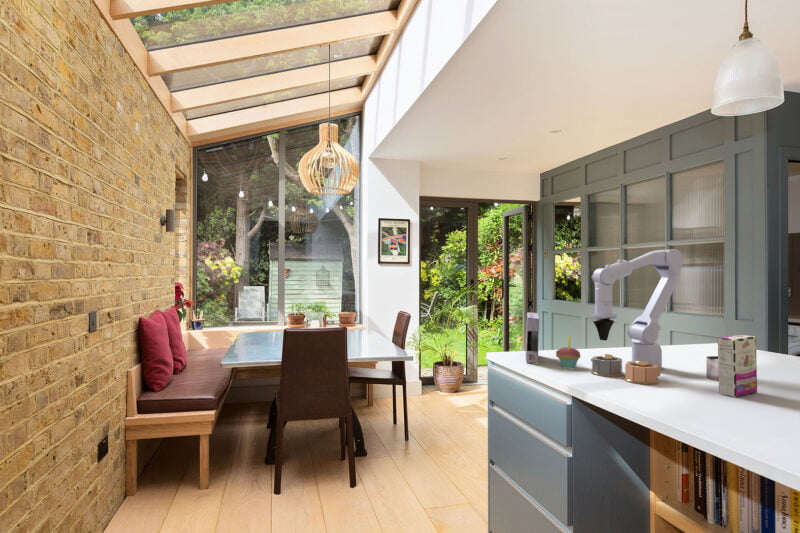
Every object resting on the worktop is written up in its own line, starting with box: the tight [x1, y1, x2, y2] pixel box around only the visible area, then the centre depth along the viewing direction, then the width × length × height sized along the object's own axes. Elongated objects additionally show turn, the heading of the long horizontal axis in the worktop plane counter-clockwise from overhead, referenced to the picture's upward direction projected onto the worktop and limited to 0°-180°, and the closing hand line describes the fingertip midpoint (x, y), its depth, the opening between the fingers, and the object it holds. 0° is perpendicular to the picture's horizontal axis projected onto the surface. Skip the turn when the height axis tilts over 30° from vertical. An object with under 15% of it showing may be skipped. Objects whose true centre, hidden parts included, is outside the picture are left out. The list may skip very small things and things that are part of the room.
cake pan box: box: [525, 312, 540, 364], centre depth 196 cm, size 19×5×18 cm, turn 166°
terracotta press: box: [623, 360, 661, 386], centre depth 160 cm, size 11×12×5 cm
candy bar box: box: [717, 334, 758, 398], centre depth 144 cm, size 11×5×16 cm, turn 117°
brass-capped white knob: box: [635, 360, 648, 367], centre depth 160 cm, size 5×5×5 cm
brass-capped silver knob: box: [600, 353, 614, 360], centre depth 171 cm, size 5×5×5 cm
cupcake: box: [555, 334, 581, 369], centre depth 182 cm, size 9×8×12 cm
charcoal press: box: [590, 355, 625, 378], centre depth 171 cm, size 11×12×5 cm
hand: (603, 340), depth 177 cm, fingers closed
